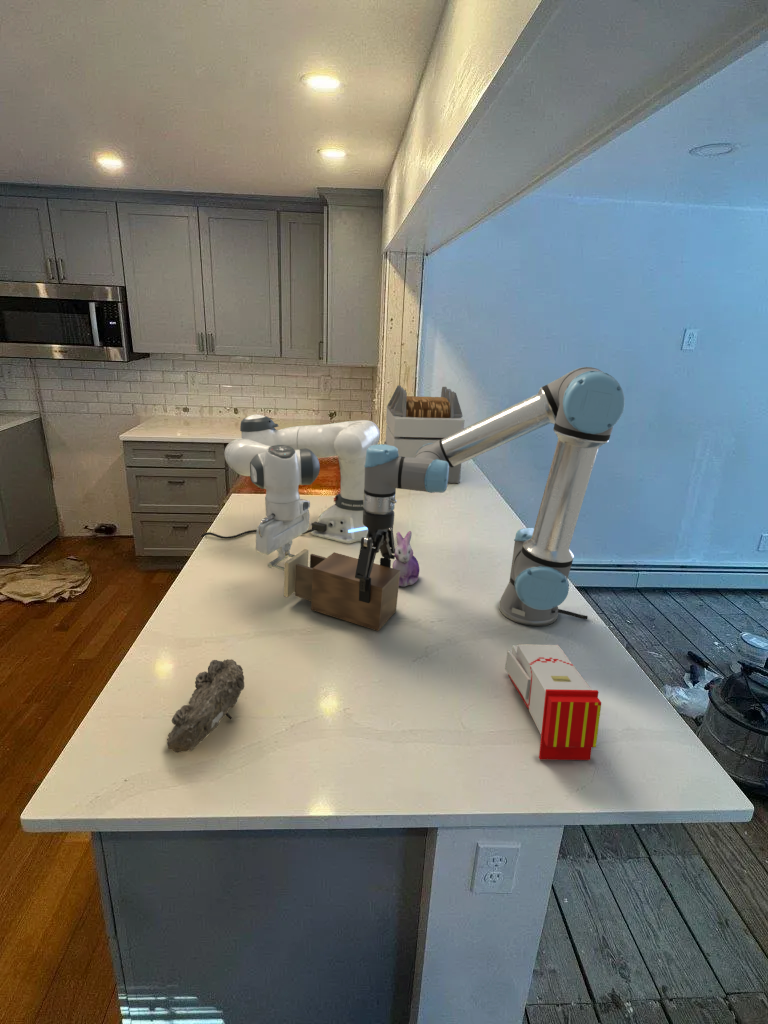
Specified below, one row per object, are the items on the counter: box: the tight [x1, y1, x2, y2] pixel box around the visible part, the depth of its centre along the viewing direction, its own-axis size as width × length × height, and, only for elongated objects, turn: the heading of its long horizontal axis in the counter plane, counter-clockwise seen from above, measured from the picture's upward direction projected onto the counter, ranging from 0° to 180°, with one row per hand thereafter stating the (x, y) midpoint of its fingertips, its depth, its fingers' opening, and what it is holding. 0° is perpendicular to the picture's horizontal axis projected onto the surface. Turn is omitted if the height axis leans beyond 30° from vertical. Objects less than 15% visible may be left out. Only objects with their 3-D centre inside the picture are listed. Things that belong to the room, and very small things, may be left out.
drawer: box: [267, 548, 327, 602], centre depth 150 cm, size 24×10×10 cm, turn 66°
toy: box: [504, 643, 602, 761], centre depth 112 cm, size 12×13×30 cm
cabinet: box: [310, 552, 400, 632], centre depth 145 cm, size 19×11×12 cm, turn 66°
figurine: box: [392, 530, 420, 588], centre depth 163 cm, size 9×10×15 cm
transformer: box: [383, 384, 465, 484], centre depth 268 cm, size 34×33×41 cm
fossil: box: [166, 658, 245, 754], centre depth 106 cm, size 22×10×15 cm
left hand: (284, 557), depth 152 cm, fingers closed
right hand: (374, 591), depth 143 cm, fingers closed on cabinet, 11 cm apart
